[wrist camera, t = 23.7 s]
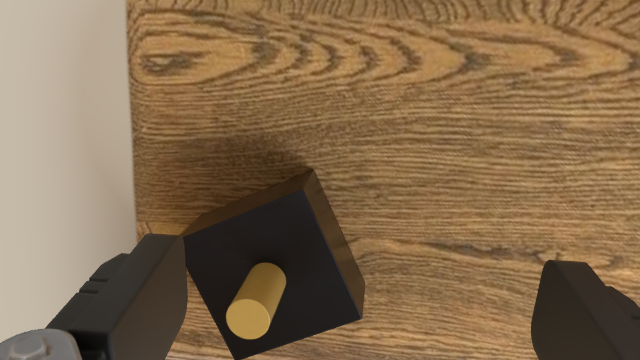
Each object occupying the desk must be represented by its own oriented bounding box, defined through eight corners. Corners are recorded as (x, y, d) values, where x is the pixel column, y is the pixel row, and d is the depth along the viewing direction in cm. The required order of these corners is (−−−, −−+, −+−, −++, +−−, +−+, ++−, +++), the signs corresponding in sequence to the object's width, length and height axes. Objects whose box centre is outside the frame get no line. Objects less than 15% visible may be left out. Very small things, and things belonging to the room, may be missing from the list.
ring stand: (253, 322, 39) (212, 411, 30) (199, 215, 38) (137, 274, 28) (365, 283, 37) (358, 364, 28) (313, 169, 36) (288, 215, 26)
